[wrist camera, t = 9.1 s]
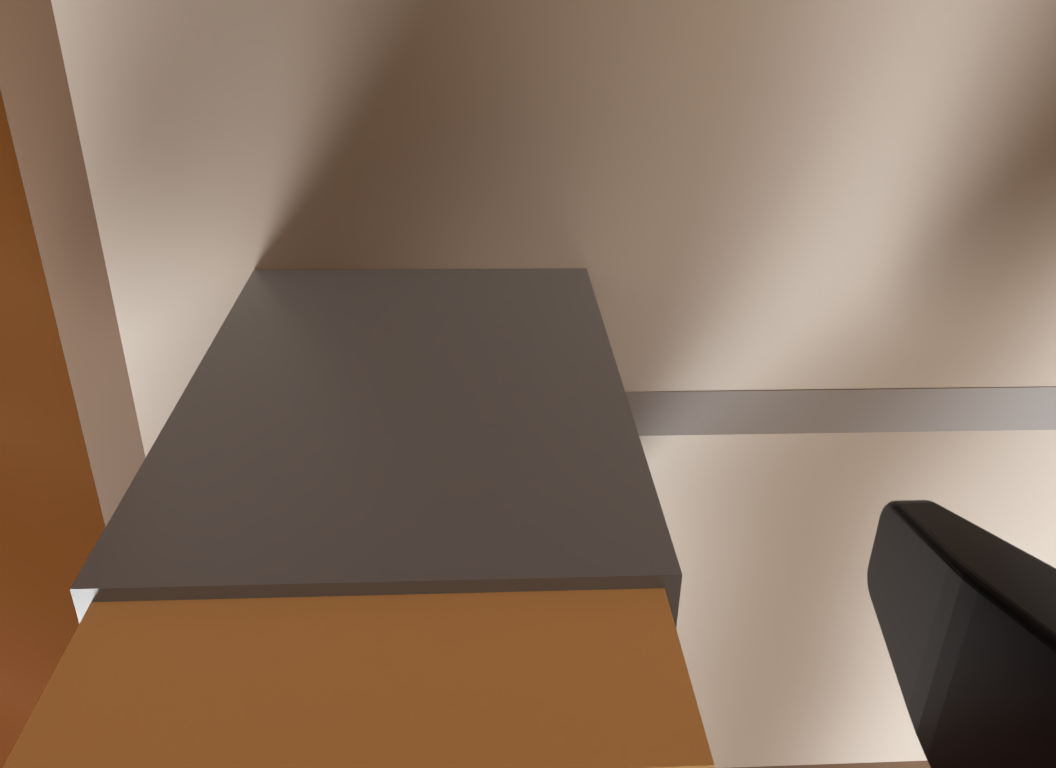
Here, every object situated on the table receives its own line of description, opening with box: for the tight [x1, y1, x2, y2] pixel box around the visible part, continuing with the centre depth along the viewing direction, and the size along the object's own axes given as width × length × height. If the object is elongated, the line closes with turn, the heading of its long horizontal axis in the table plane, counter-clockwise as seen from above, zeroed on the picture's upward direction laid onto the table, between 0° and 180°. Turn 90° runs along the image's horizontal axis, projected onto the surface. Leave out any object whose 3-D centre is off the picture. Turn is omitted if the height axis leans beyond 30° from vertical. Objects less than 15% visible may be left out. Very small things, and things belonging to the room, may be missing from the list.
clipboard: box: [0, 0, 1056, 768], centre depth 11 cm, size 20×14×1 cm
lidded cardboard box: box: [3, 268, 715, 768], centre depth 8 cm, size 4×4×6 cm
